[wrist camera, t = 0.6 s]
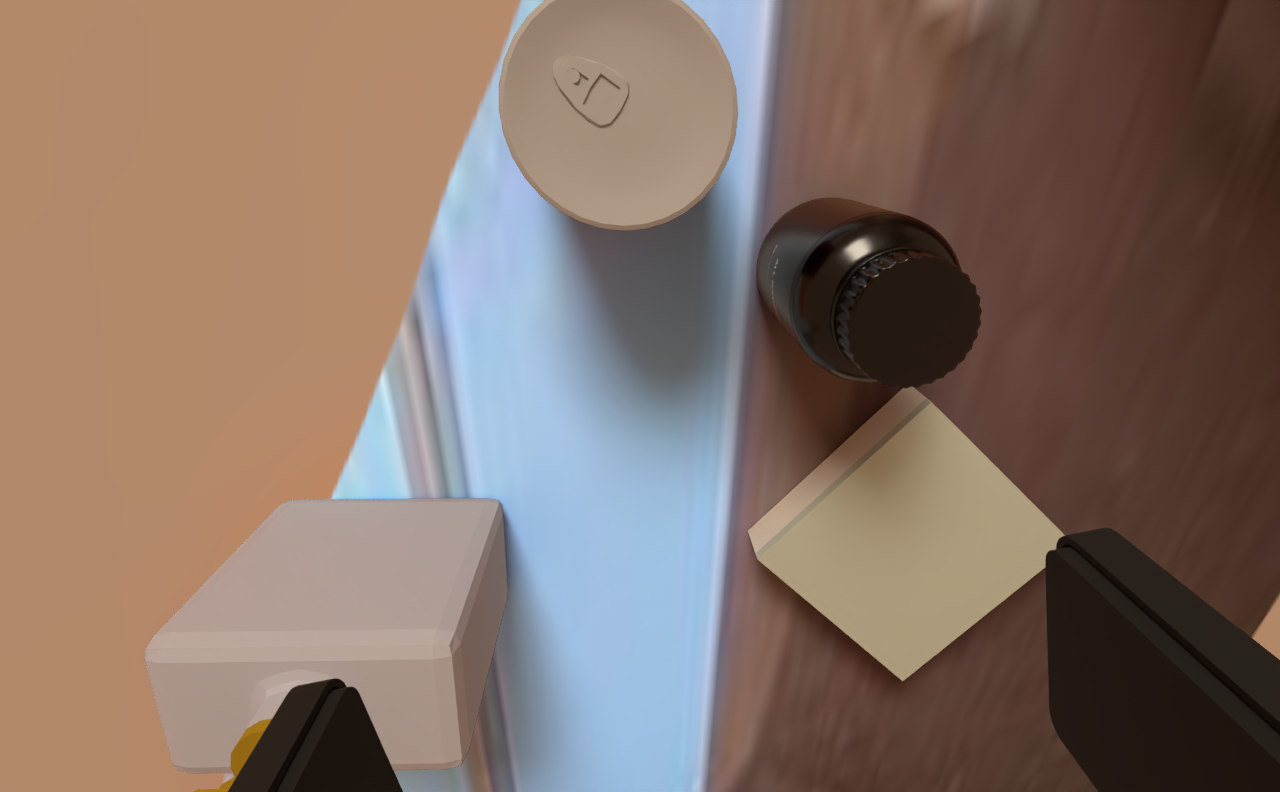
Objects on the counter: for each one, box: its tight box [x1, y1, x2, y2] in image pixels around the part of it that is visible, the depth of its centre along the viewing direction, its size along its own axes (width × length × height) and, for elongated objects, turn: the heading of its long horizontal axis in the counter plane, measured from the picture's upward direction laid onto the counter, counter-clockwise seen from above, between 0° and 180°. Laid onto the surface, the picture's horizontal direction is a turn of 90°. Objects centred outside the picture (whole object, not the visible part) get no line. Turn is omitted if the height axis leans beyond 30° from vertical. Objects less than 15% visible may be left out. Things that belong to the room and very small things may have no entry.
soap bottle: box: [145, 498, 508, 792], centre depth 29 cm, size 12×7×23 cm, turn 90°
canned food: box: [499, 0, 738, 231], centre depth 28 cm, size 8×8×11 cm
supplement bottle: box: [757, 198, 982, 389], centre depth 30 cm, size 7×7×12 cm
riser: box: [748, 386, 1065, 681], centre depth 39 cm, size 12×12×3 cm
